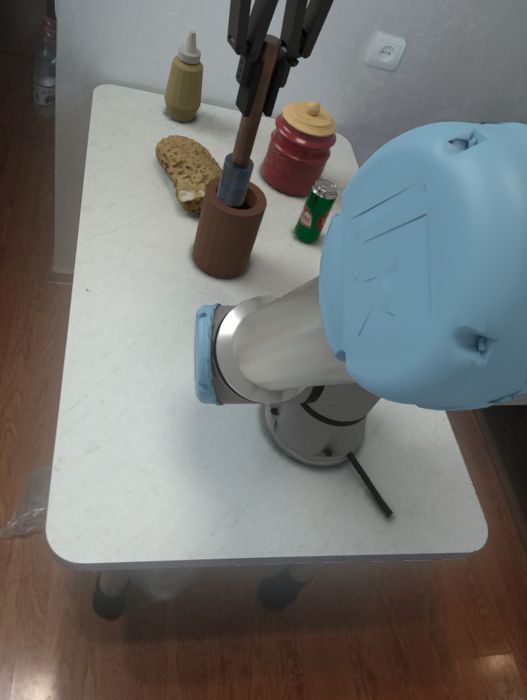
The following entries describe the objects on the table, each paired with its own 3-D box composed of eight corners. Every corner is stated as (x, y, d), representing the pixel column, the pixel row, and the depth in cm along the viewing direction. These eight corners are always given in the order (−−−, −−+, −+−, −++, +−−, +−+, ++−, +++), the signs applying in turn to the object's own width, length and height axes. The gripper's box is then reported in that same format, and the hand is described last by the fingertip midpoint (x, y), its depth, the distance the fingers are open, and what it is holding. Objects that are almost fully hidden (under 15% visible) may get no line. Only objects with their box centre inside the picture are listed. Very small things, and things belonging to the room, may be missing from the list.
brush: (249, 199, 78) (295, 44, 61) (232, 210, 75) (276, 52, 58) (227, 184, 79) (267, 27, 62) (210, 195, 76) (247, 34, 59)
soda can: (290, 227, 108) (309, 176, 98) (312, 226, 110) (333, 177, 100) (298, 244, 105) (319, 194, 96) (321, 244, 107) (343, 195, 98)
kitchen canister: (248, 166, 116) (270, 88, 103) (290, 155, 124) (316, 80, 110) (287, 203, 112) (315, 126, 99) (328, 189, 119) (360, 115, 106)
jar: (257, 261, 99) (278, 200, 88) (224, 287, 93) (242, 225, 82) (215, 231, 101) (231, 168, 90) (180, 255, 95) (192, 190, 84)
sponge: (229, 224, 105) (218, 146, 113) (231, 198, 98) (220, 117, 106) (160, 227, 103) (155, 148, 111) (157, 200, 96) (152, 117, 104)
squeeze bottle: (192, 129, 119) (206, 47, 106) (157, 117, 119) (167, 32, 105) (202, 113, 125) (217, 31, 111) (168, 100, 124) (179, 17, 110)
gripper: (364, -131, 54) (293, 94, 72) (223, -166, 47) (184, 92, 65) (404, -100, 50) (318, 127, 68) (257, -133, 43) (206, 129, 61)
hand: (253, 110), depth 67 cm, fingers closed on brush, 2 cm apart
